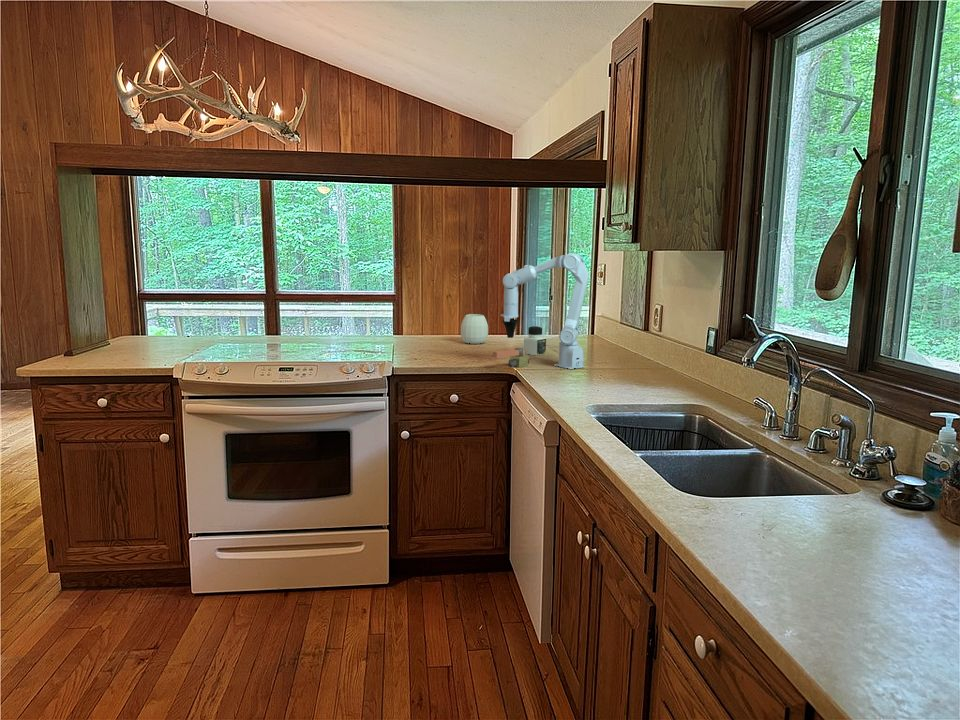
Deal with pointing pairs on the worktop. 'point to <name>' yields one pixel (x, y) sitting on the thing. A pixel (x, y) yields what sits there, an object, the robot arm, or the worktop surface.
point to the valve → (518, 361)
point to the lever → (509, 352)
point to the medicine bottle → (535, 341)
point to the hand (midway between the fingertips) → (510, 337)
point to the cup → (474, 329)
